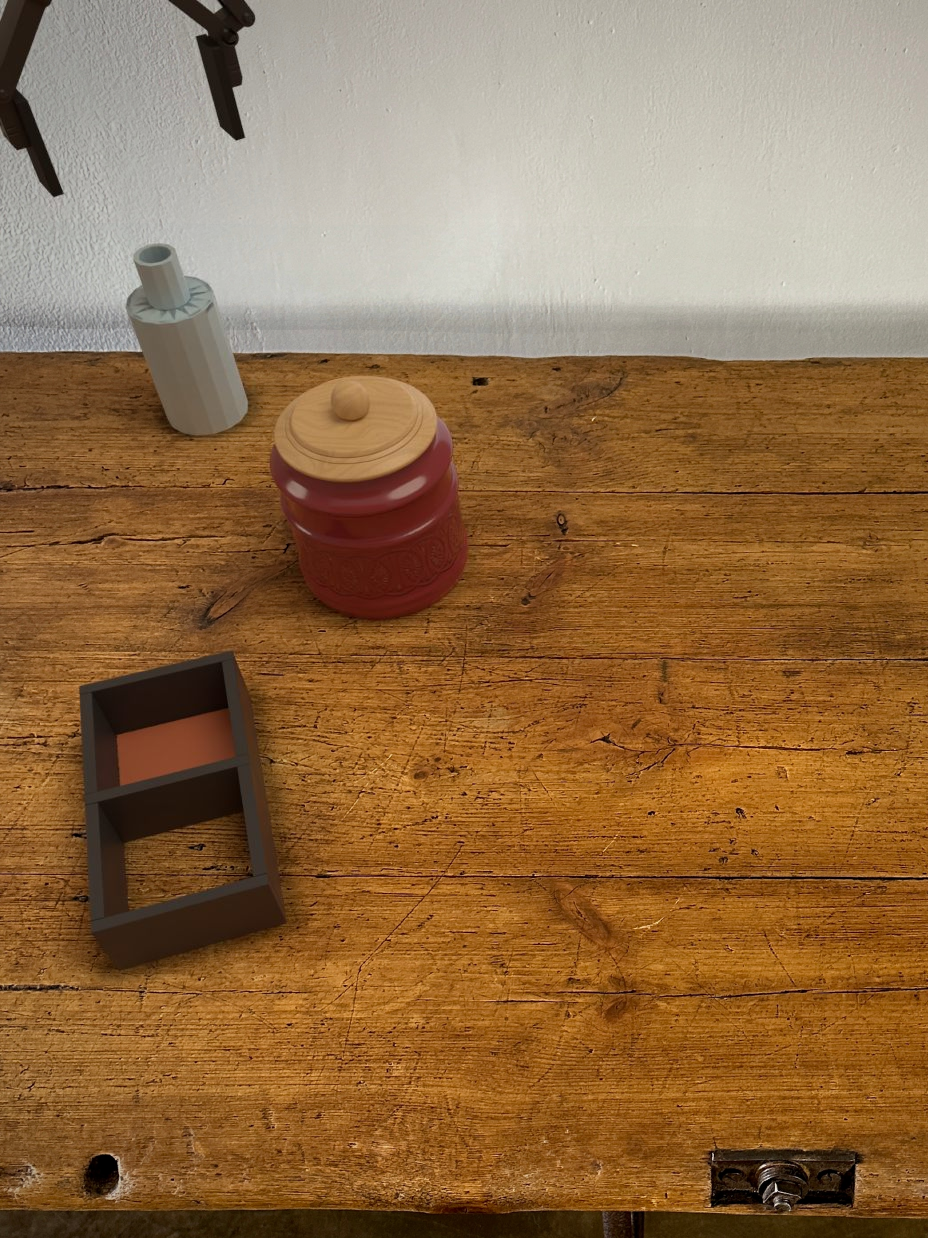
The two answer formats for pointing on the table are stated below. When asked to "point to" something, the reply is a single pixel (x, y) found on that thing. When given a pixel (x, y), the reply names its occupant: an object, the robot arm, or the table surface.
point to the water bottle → (185, 345)
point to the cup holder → (173, 802)
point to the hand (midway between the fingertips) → (145, 159)
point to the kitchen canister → (370, 496)
